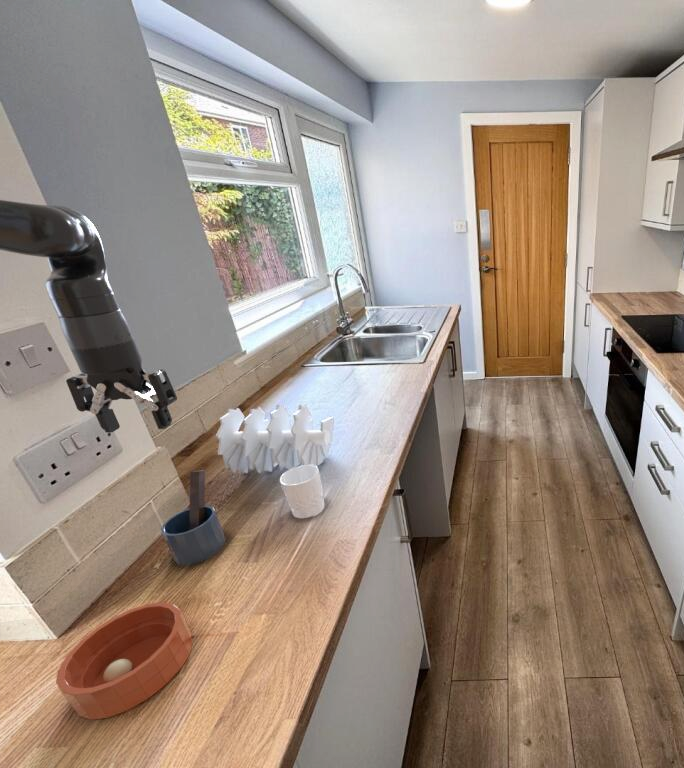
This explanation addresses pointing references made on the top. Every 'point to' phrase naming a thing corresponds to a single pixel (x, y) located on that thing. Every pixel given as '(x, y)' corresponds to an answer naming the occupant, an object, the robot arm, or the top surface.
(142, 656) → the bowl
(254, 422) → the spiral staircase
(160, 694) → the top surface
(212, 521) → the utensil pot
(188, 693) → the top surface
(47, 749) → the top surface
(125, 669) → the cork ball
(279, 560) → the top surface
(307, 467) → the white cup
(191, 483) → the stick
